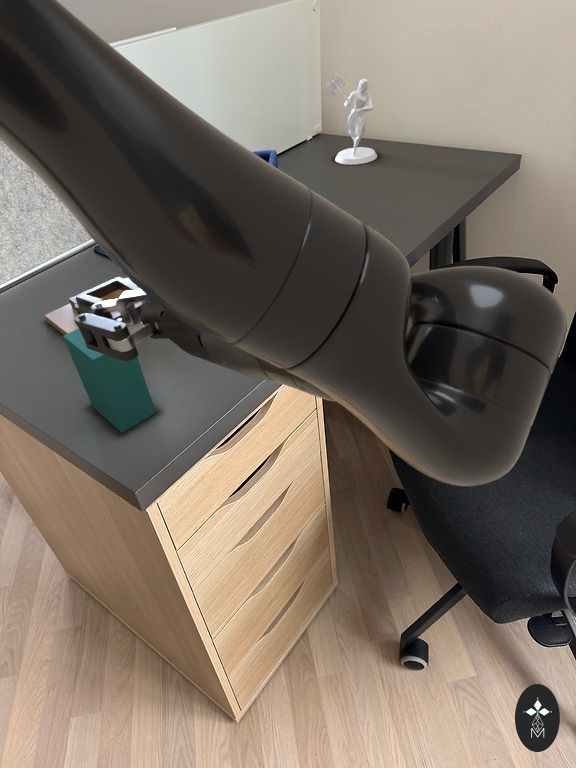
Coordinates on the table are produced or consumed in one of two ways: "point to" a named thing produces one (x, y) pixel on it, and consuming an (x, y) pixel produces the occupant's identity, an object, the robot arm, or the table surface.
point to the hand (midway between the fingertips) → (125, 285)
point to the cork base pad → (106, 291)
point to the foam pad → (111, 384)
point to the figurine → (355, 122)
